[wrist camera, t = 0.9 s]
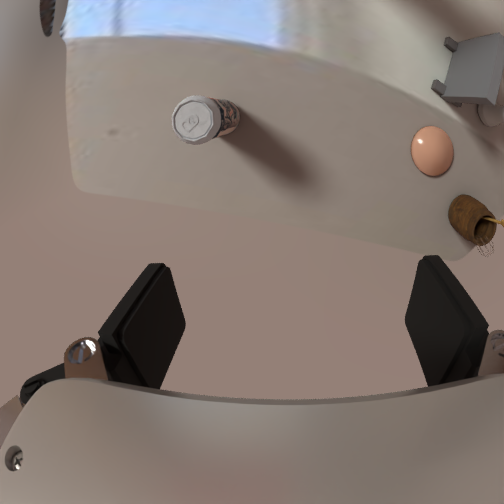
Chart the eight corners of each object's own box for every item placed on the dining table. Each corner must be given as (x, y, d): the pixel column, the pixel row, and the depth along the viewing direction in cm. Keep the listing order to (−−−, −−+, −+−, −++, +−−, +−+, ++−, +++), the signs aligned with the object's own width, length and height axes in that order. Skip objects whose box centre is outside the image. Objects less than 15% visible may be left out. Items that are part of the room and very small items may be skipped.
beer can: (247, 119, 33) (229, 123, 23) (219, 142, 35) (189, 156, 24) (224, 92, 32) (195, 84, 21) (196, 115, 33) (158, 119, 23)
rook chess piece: (472, 109, 27) (504, 114, 20) (484, 92, 25) (517, 94, 18) (487, 131, 28) (519, 140, 21) (499, 114, 26) (531, 120, 19)
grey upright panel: (445, 36, 22) (488, 23, 13) (471, 55, 23) (516, 50, 13) (430, 90, 27) (475, 88, 18) (456, 108, 27) (503, 114, 18)
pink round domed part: (421, 117, 29) (422, 117, 29) (457, 141, 30) (459, 142, 29) (403, 161, 33) (405, 162, 32) (440, 182, 33) (442, 183, 33)
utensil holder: (440, 212, 35) (482, 248, 25) (465, 184, 32) (512, 213, 22) (457, 236, 36) (496, 275, 26) (481, 209, 33) (524, 243, 23)
